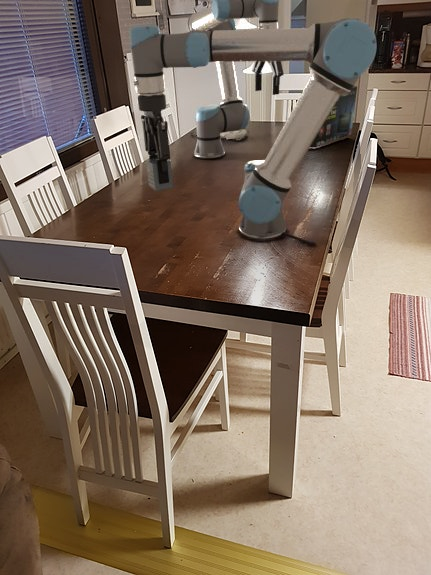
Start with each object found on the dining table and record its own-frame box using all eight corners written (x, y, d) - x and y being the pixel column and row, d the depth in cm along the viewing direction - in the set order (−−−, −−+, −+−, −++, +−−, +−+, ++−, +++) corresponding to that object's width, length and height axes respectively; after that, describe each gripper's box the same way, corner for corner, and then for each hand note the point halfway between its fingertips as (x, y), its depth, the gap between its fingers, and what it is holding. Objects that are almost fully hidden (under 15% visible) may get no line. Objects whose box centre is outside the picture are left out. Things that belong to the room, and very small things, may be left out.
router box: (314, 151, 231) (318, 94, 217) (296, 148, 237) (299, 92, 224) (352, 138, 251) (358, 85, 238) (335, 135, 258) (340, 83, 245)
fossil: (240, 135, 249) (222, 118, 252) (230, 152, 256) (212, 134, 259) (256, 134, 263) (238, 117, 266) (246, 150, 269) (228, 133, 272)
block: (165, 182, 136) (163, 156, 132) (173, 187, 132) (170, 160, 128) (148, 186, 134) (145, 159, 130) (155, 191, 130) (152, 164, 126)
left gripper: (244, 34, 190) (244, 90, 201) (277, 36, 171) (275, 97, 182) (259, 33, 193) (258, 88, 204) (294, 35, 174) (291, 95, 185)
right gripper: (126, 91, 125) (137, 174, 137) (150, 99, 111) (160, 191, 123) (151, 88, 128) (160, 170, 140) (178, 95, 114) (185, 186, 126)
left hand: (266, 92), depth 193 cm, fingers open, 13 cm apart
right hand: (160, 180), depth 132 cm, fingers closed on block, 5 cm apart
